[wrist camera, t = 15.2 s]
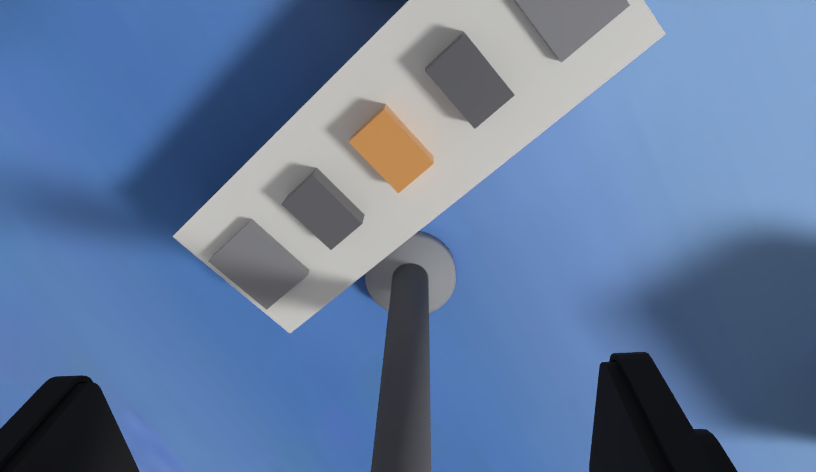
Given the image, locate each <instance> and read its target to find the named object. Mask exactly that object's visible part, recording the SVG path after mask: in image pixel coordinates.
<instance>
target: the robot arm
mask: <svg viewBox="0 0 816 472" xmlns="http://www.w3.org/2000/svg"><path fill="white" fill-rule="evenodd" d="M0 472H139V469H138V467H137V465H136V463H135V461H134V459H133V457H132V455H131V452H130V450H129V448H128V446H127V444H126V442H125V440H124V437H123V435H122V433H121V431H120V429H119V427H118V425H117V422H116V420H115V418H114V416H113V414H112V412H111V410H110V407H109V405H108V403H107V401H106V399H105V397H104V395H103V393H102V390H101V388H100V387H99V385H97V384H96V383H93V381H92V380H91V378H89V377H87V376H59V377H53V378H50V379H49V380H47V381H46V382H45V383H44V384H43V385H42V386H41V387H40V388H39V389H38V390H37V391H36V392H35V393H34V394H33V395H32V396H31V398H30V399H29V400H28V401H27V402H26V403H25V404H24V405H23V406H22V407H21V408H20V409H19V410H18V411H17V412H16V413H15V414H14V415H13V416H12V417H11V418H10V419H9V420H8V422H7V423H6V424H5V425H4V426H3V427H2V428H1V429H0ZM589 472H737V470H736V468H735V467H734V465H733V464H732V462H731V461H730V459H729V457H728V456H727V454H726V453H725V451H724V449H723V448H722V446H721V445H720V443H719V442H718V440H717V439H716V438H715V436H714V435H713V434H712V433H710V432H709V431H708V430H706V429H693V428H692V426H691V424H690V423H689V421H688V419H687V418H686V416H685V414H684V412H683V411H682V409H681V407H680V406H679V404H678V402H677V401H676V399H675V397H674V395H673V394H672V392H671V390H670V389H669V387H668V385H667V383H666V382H665V380H664V378H663V377H662V375H661V373H660V372H659V370H658V368H657V366H656V365H655V363H654V361H653V360H652V358H651V357H650V355H649V354H648V353H646V352H633V353H613V354H612V355H611V357H610V361H609V362H602V363H601V364H600V368H599V377H598V387H597V396H596V406H595V415H594V425H593V435H592V444H591V454H590V463H589Z"/></svg>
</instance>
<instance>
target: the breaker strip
mask: <svg viewBox="0 0 816 472" xmlns="http://www.w3.org/2000/svg"><path fill="white" fill-rule="evenodd" d="M664 35H665V32H664V31H663V29H662V28H661V26H660V25H659V23H658V22H657V20H656V18H655V17H654V15H653V14H652V12H651V11H650V9H649V8H648V6H647V5H646V3H645V1H644V0H409V1H408V2H407V3H406V4H405V5H404V6H403V7H402V8H401V9H400V10H399V11H398V12H397V13H396V14H395V15H394V16H393V17H392V18H391V19H390V20H389V21H388V22H387V23H386V24H385V25H384V26H383V27H382V28H381V29H380V30H379V31H378V32H377V33H376V34H375V35H374V36H373V37H372V38H371V39H370V40H369V41H368V42H367V43H366V44H365V45H364V46H363V47H362V48H361V49H360V50H359V51H358V52H357V53H356V54H355V55H354V56H353V57H352V58H351V59H350V60H349V61H348V62H347V63H346V64H345V65H344V66H343V67H342V68H341V69H340V70H339V71H338V72H337V73H336V74H335V75H334V76H333V77H332V78H331V79H330V80H329V81H328V82H327V83H326V84H325V85H324V86H323V87H322V88H321V89H320V90H319V91H318V92H317V93H316V94H315V95H314V96H313V97H312V98H311V99H310V100H309V101H308V102H307V103H306V104H305V105H304V106H303V107H302V108H301V109H300V110H299V111H298V112H297V113H296V114H295V115H294V116H293V117H292V118H291V119H290V120H289V121H288V122H287V123H286V124H285V125H284V126H283V127H282V128H281V129H280V130H279V131H278V132H277V133H276V134H275V135H274V136H273V137H272V138H271V139H270V140H269V141H268V142H267V143H266V144H265V145H264V146H263V147H262V148H261V149H260V150H259V151H258V152H257V153H256V154H255V155H254V156H253V157H252V158H251V159H250V160H249V161H248V162H247V163H246V164H245V165H244V166H243V167H242V168H241V169H240V170H239V171H238V172H237V173H236V174H235V175H234V176H233V177H232V178H231V179H230V180H229V181H228V182H227V183H226V184H225V185H224V186H223V187H222V188H221V189H220V190H219V191H218V192H217V193H216V194H215V195H214V196H213V197H212V198H211V199H210V200H209V201H208V202H207V203H206V204H205V205H204V206H203V207H202V208H201V209H200V210H199V211H198V212H197V213H196V214H195V215H194V216H193V217H192V218H191V219H190V220H189V221H188V222H187V223H186V224H185V225H184V226H183V227H182V228H181V229H180V230H179V231H178V232H177V233H176V234H175V235H174V236H173V237H174V238H175V239H176V240H177V241H178V242H180V243H181V244H182V245H183V246H184V247H186V248H187V249H188V250H189V251H191V252H192V253H193V254H194V255H195V256H197V257H198V258H199V259H200V260H201V261H203V262H204V263H205V264H206V265H207V266H209V267H210V268H211V269H212V270H214V271H215V272H216V273H217V274H218V275H220V276H221V277H222V278H223V279H224V280H226V281H227V282H228V283H229V284H230V285H232V286H233V287H234V288H235V289H237V290H238V291H239V292H240V293H241V294H243V295H244V296H245V297H246V298H247V299H249V300H250V301H251V302H252V303H253V304H255V305H256V306H257V307H258V308H260V309H261V310H262V311H263V312H264V313H266V314H267V315H268V316H269V317H270V318H272V319H273V320H274V321H275V322H276V323H278V324H279V325H280V326H281V327H283V328H284V329H285V330H286V331H287V332H289V333H291V332H293V331H294V330H295V329H296V328H298V327H299V326H300V325H301V324H303V323H304V322H305V321H306V320H308V319H309V318H310V317H311V316H313V315H314V314H315V313H316V312H318V311H319V310H320V309H321V308H323V307H324V306H325V305H326V304H328V303H329V302H330V301H332V300H333V299H334V298H335V297H337V296H338V295H339V294H340V293H342V292H343V291H344V290H345V289H347V288H348V287H349V286H350V285H352V284H353V283H354V282H355V281H357V280H358V279H359V278H360V277H362V276H363V275H364V274H365V273H367V272H368V271H369V270H370V269H372V268H373V267H374V266H375V265H377V264H378V263H379V262H380V261H382V260H383V259H384V258H385V257H387V256H388V255H389V254H390V253H392V252H393V251H394V250H395V249H397V248H398V247H399V246H401V245H402V244H403V243H404V242H406V241H407V240H408V239H409V238H411V237H412V236H413V235H414V234H416V233H417V232H418V231H419V230H421V229H422V228H423V227H424V226H426V225H427V224H428V223H429V222H431V221H432V220H433V219H434V218H436V217H437V216H438V215H439V214H441V213H442V212H443V211H444V210H446V209H447V208H448V207H449V206H451V205H452V204H453V203H454V202H456V201H457V200H458V199H459V198H461V197H462V196H463V195H464V194H466V193H467V192H468V191H470V190H471V189H472V188H473V187H475V186H476V185H477V184H478V183H480V182H481V181H482V180H483V179H485V178H486V177H487V176H488V175H490V174H491V173H492V172H493V171H495V170H496V169H497V168H498V167H500V166H501V165H502V164H503V163H505V162H506V161H507V160H508V159H510V158H511V157H512V156H513V155H515V154H516V153H517V152H518V151H520V150H521V149H522V148H523V147H525V146H526V145H527V144H528V143H530V142H531V141H532V140H533V139H535V138H536V137H537V136H539V135H540V134H541V133H542V132H544V131H545V130H546V129H547V128H549V127H550V126H551V125H552V124H554V123H555V122H556V121H557V120H559V119H560V118H561V117H562V116H564V115H565V114H566V113H567V112H569V111H570V110H571V109H572V108H574V107H575V106H576V105H577V104H579V103H580V102H581V101H582V100H584V99H585V98H586V97H587V96H589V95H590V94H591V93H592V92H594V91H595V90H596V89H597V88H599V87H600V86H601V85H603V84H604V83H605V82H606V81H608V80H609V79H610V78H611V77H613V76H614V75H615V74H616V73H618V72H619V71H620V70H621V69H623V68H624V67H625V66H626V65H628V64H629V63H630V62H631V61H633V60H634V59H635V58H636V57H638V56H639V55H640V54H641V53H643V52H644V51H645V50H646V49H648V48H649V47H650V46H651V45H653V44H654V43H655V42H656V41H658V40H659V39H660V38H661V37H663V36H664Z"/></svg>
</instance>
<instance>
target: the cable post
mask: <svg viewBox="0 0 816 472" xmlns="http://www.w3.org/2000/svg"><path fill="white" fill-rule="evenodd" d="M365 282H366V286H367V289H368V292H369V293H370V295H371V297H372V298H373V299H374V301H375V302H376V303H377V304H378V305H380V306H381V307H382V308H384V309H385V310H387V311H389V312H388V321H387V330H386V340H385V349H384V358H383V367H382V376H381V385H380V394H379V403H378V412H377V422H376V431H375V440H374V449H373V458H372V467H371V472H431V431H430V356H429V313H431V312H433V311H435V310H437V309H438V308H440V307H441V306H442V305H444V304H445V303H446V302H447V300H448V299H449V298H450V296H451V294H452V293H453V290H454V287H455V282H456V274H455V265H454V260H453V257H452V254H451V252H450V251H449V249H448V248H447V247H446V245H445V244H444V243H443V242H441V241H440V240H439V239H438V238H436V237H434V236H432V235H430V234H428V233H425V232H421V231H418V232H417V233H416V234H414V235H413V236H412V237H411V238H409V239H408V240H407V241H406V242H404V243H403V244H402V245H401V246H399V247H398V248H397V249H395V250H394V251H393V252H392V253H390V254H389V255H388V256H387V257H385V258H384V259H383V260H382V261H380V262H379V263H378V264H377V265H375V266H374V267H373V268H372V269H370V270H369V271H368V272H367V273H365Z"/></svg>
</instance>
